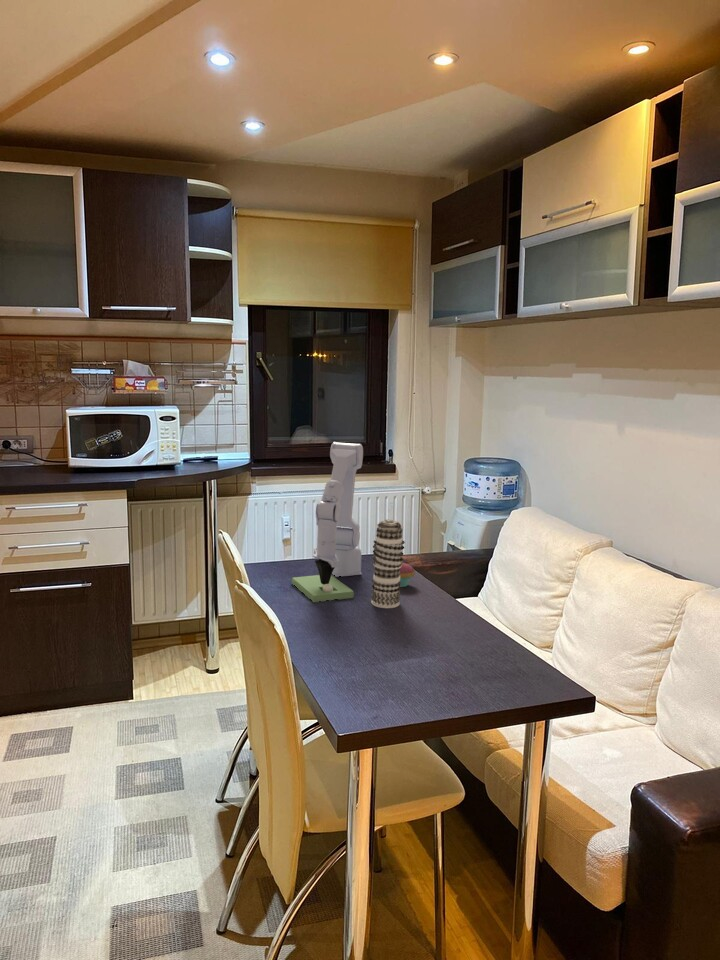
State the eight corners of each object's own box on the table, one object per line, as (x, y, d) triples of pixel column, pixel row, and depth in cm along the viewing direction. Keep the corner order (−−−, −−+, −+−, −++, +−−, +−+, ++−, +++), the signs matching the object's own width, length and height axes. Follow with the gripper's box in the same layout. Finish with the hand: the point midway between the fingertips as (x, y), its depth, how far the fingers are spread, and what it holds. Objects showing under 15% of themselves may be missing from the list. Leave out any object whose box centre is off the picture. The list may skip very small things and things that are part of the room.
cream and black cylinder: (401, 609, 209) (406, 526, 205) (369, 607, 209) (374, 524, 205) (400, 599, 218) (405, 518, 214) (370, 597, 218) (374, 517, 214)
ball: (331, 594, 220) (329, 583, 221) (335, 593, 217) (334, 583, 218) (321, 595, 219) (320, 584, 219) (325, 594, 216) (324, 584, 216)
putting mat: (329, 579, 233) (329, 573, 233) (353, 597, 217) (353, 591, 217) (291, 583, 228) (292, 577, 227) (313, 602, 212) (313, 595, 211)
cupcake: (382, 581, 234) (384, 546, 232) (405, 579, 238) (408, 544, 235) (395, 590, 226) (397, 553, 224) (418, 587, 230) (421, 551, 228)
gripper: (305, 535, 222) (303, 577, 225) (323, 547, 210) (322, 592, 212) (326, 533, 226) (324, 575, 228) (345, 545, 213) (343, 589, 215)
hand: (324, 583), depth 220 cm, fingers closed
